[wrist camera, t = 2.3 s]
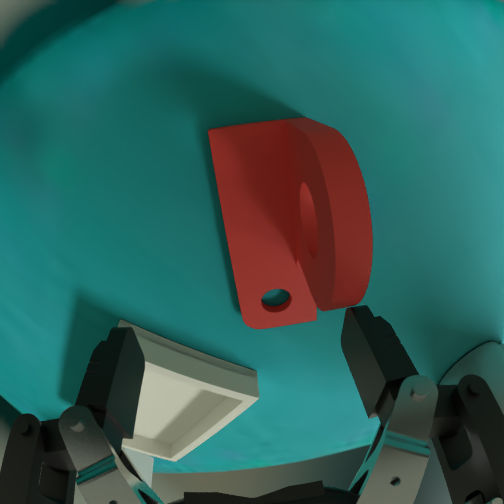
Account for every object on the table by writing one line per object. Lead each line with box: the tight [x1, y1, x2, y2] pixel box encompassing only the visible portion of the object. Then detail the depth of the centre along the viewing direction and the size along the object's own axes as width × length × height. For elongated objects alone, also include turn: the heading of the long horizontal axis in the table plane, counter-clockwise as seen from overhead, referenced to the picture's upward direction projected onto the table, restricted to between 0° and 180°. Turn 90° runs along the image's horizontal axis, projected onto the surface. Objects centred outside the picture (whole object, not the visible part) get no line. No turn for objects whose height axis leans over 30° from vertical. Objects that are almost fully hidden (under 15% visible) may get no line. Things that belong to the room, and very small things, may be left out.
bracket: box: [208, 117, 373, 329], centre depth 13 cm, size 12×4×8 cm, turn 6°
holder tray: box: [117, 319, 259, 462], centre depth 22 cm, size 11×17×2 cm, turn 147°
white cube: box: [122, 447, 154, 488], centre depth 28 cm, size 6×6×6 cm
